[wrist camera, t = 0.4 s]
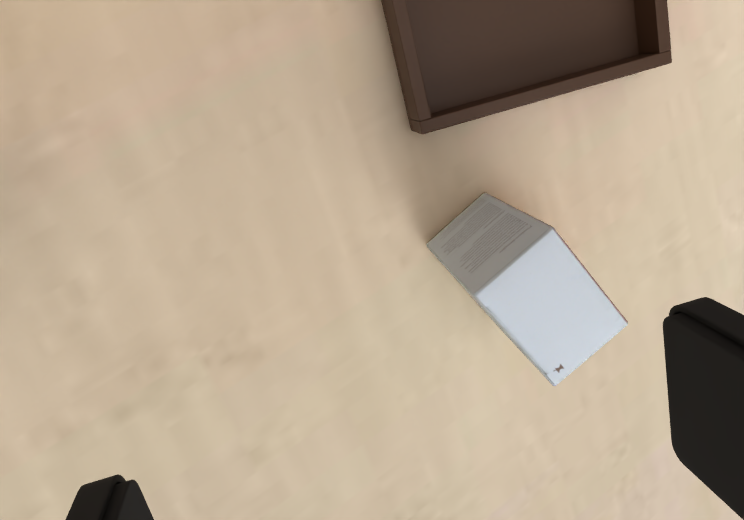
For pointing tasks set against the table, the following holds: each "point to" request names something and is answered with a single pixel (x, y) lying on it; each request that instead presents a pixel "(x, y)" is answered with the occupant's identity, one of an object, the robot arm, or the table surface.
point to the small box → (528, 285)
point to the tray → (516, 51)
